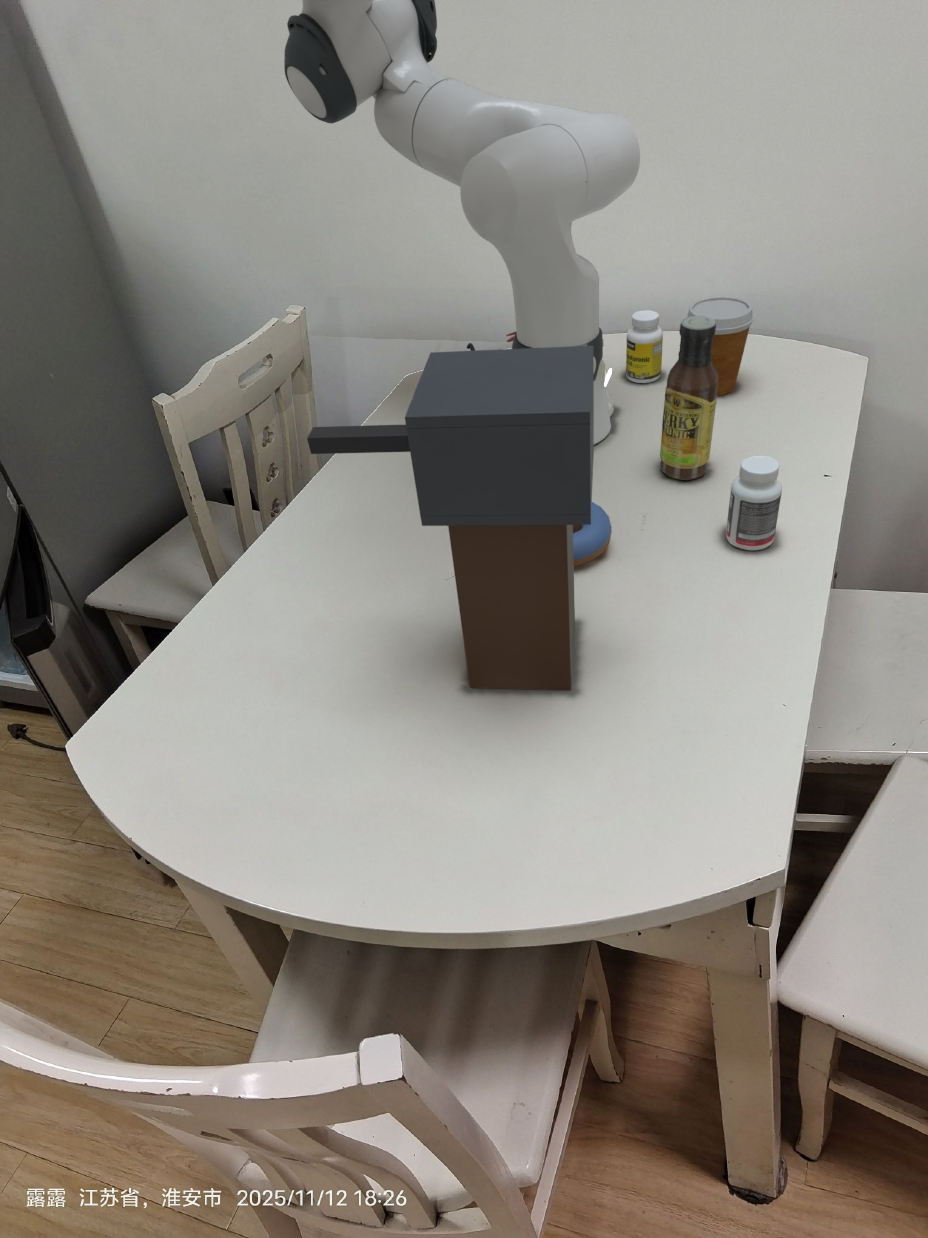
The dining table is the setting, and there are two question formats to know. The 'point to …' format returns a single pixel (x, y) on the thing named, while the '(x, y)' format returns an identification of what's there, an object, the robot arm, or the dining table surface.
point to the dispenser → (508, 499)
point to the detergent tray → (358, 439)
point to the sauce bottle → (690, 402)
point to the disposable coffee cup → (726, 335)
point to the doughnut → (591, 536)
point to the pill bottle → (754, 504)
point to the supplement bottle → (644, 347)
